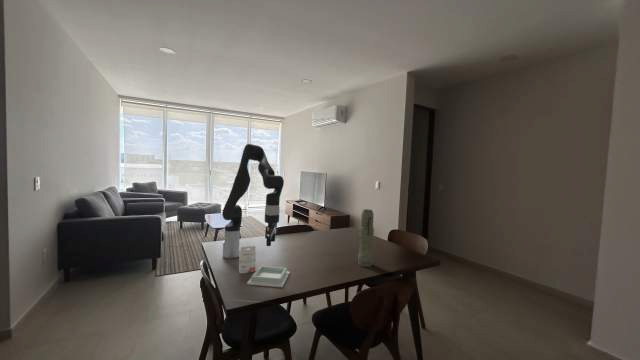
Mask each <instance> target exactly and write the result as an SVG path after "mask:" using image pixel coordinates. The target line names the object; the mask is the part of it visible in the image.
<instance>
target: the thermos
mask: <svg viewBox="0 0 640 360" xmlns="http://www.w3.org/2000/svg"><path fill="white" fill-rule="evenodd" d="M360 216H361V219H360V222H361V223H360V227H359V234H358V235H359V251H358V254H357V261H358V262H357V264H358V266H360V267H364V268H370V267H372V266H373V239H374V234H375V233H374V232H375V231H374V230H375V228H374V216H375V214H374V212H373V210H372V209H368V208H367V209H363V210H362V212H361V215H360Z"/></svg>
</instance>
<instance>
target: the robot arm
mask: <svg viewBox="0 0 640 360" xmlns="http://www.w3.org/2000/svg"><path fill="white" fill-rule="evenodd" d="M249 161H254V162H255V161H256V162H258V165H257V170H258V172H259V174H260V175H261V177H262V183H263V184H262V185H263V186H264V188H266V189H269V190H271V189H272V190H273V191H272V192H269V193H267V194H266V197H265V208H264V222H265V223H267V226H265V230H264V231H265V232H264V233H265V234H264V238H265V239H266V243H265V244H266V247H271V246H272V242H273V243H274V242H276V235H277V232H278V223H279V222H280V200H281V199H280V198H281V194H282V191H283V188H284V184H285V180H284V178H283V176H281V175H276V174H275V173H276V172H275V170H274V169H273V167H272V165H270V164H271V163H270V162H269V161H268V158H267V156H266V153H265V151H264V149H263V147H262V146H260V145H257V144H253V143H247V144H246V145H244V148H243V151H242V154H241V159H240V163H239V166H238V169H237V172H236V175H235V178H234V181H233V183H232V188H231V190H230V192H229V195H228V198H227V200H226V201H225V204H224V207H223V209H222V218H223V220H225V221H229V223H227V224H226V225H225V226H224V241H223V242H222V257H223V258H226V259H237V258H238V257H239V251H240V235H241V234H240V233H241V227H242V219H243V211H242V210H243V209H242V207H241V205H239V204H237V203H238V202H239V200H240V199H241V198H242V197H243V196H244V195H245V194H246V193H247V191H248V190H249V186H250V184H251V176H250V172H249V167H248V165H249Z"/></svg>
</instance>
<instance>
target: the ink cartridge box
mask: <svg viewBox="0 0 640 360" xmlns="http://www.w3.org/2000/svg"><path fill="white" fill-rule="evenodd" d="M256 255H257V252H256V246H255V245H254V246H253V245H252V246H251V245H250V246H241V247H240V249H239V256H238V257H239V258H238V272H239V274H248V273H249V274H250V273H255V272H256V263H257V262H256V260H257V259H256Z"/></svg>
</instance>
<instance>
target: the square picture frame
mask: <svg viewBox="0 0 640 360" xmlns="http://www.w3.org/2000/svg"><path fill="white" fill-rule="evenodd" d="M287 268H288V267H280V266H268V265H260V266H259V267H258V268H257V269H255V272H253V274H252V275H251V276H250V278H249V279H248V280H247V282H246V284H247V285H250V286H251V285H252V286H264V287H273V288H274V287H275V288H283V287H284V286H285V283H286V281H287V279H288V277H289V276H290V272H291V271H288V269H287Z"/></svg>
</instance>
